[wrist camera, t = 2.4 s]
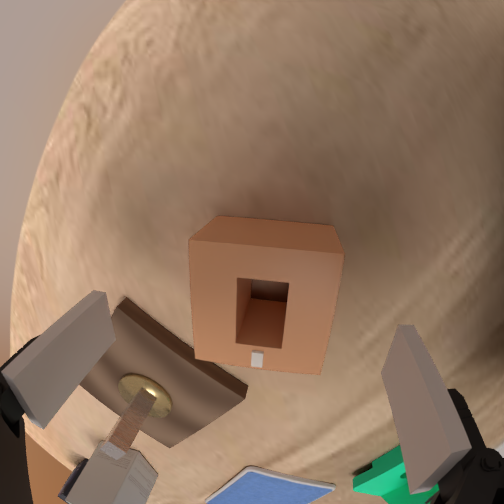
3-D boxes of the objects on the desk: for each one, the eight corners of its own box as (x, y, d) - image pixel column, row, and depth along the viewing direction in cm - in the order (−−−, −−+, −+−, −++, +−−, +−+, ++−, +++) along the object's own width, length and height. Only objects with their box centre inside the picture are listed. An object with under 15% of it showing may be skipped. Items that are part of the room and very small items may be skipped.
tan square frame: (217, 215, 18) (187, 240, 13) (333, 225, 17) (345, 255, 12) (217, 314, 20) (194, 360, 16) (317, 325, 19) (320, 377, 15)
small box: (84, 456, 37) (60, 494, 27) (113, 475, 38) (92, 514, 28) (76, 464, 41) (55, 496, 31) (101, 481, 41) (82, 514, 32)
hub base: (126, 297, 21) (60, 362, 13) (248, 386, 22) (225, 472, 14) (85, 376, 26) (44, 426, 18) (174, 438, 27) (148, 496, 19)
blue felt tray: (272, 516, 35) (271, 521, 33) (204, 497, 35) (202, 503, 33) (338, 481, 28) (338, 489, 26) (248, 460, 28) (246, 468, 26)
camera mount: (430, 422, 22) (451, 503, 12) (460, 436, 22) (480, 502, 13) (348, 472, 26) (349, 543, 17) (386, 482, 27) (391, 543, 17)
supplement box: (99, 438, 32) (62, 499, 20) (140, 450, 30) (104, 520, 19) (121, 464, 34) (91, 520, 22) (159, 475, 33) (132, 538, 21)
